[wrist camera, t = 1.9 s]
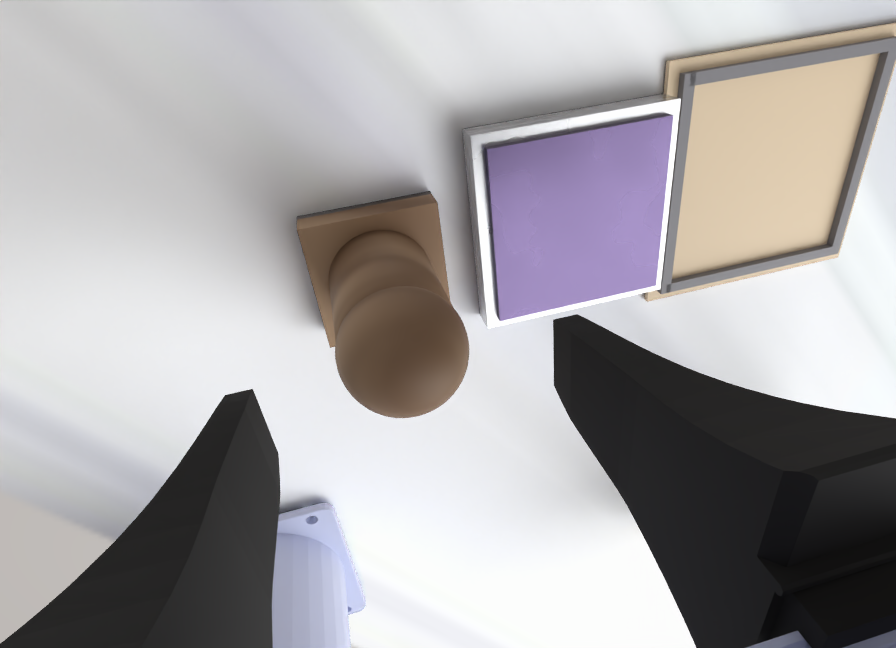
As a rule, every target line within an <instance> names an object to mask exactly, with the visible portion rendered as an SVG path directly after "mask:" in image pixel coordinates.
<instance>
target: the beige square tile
mask: <svg viewBox="0 0 896 648" xmlns="http://www.w3.org/2000/svg"><path fill="white" fill-rule="evenodd" d="M895 64H896V23H890V24H884V25H878V26H872V27H866V28H860V29H854V30H848V31H842V32H836V33H830V34H824V35H818V36H812V37H806V38H800V39H794V40H789V41H783V42H777V43H771V44H765V45H759V46H753V47H747V48H741V49H735V50H729V51H723V52H717V53H711V54H705V55H699V56H693V57H687V58H681V59H675V60H670V61H666V71H665V82H664V93H663V94H666V95H670V96H674V97H678V98H681V103H680V112H679V121H678V130H677V140H676V149H675V158H674V167H673V177H672V186H671V195H670V204H669V214H668V223H667V232H666V241H665V251H664V260H663V269H662V278H661V288H660V289H659V290H654V291H650V292H646V293H645V300H646V301H647V302H648V301H652V300H656V299H660V298H665V297H669V296H673V295H678V294H682V293H686V292H691V291H695V290H699V289H704V288H708V287H712V286H716V285H721V284H725V283H729V282H734V281H738V280H742V279H747V278H751V277H755V276H759V275H764V274H768V273H772V272H777V271H781V270H785V269H790V268H794V267H798V266H803V265H807V264H811V263H815V262H820V261H824V260H828V259H833V258H837V257H838V256H839V252H840V249H841V246H842V242H843V239H844V235H845V232H846V229H847V225H848V222H849V219H850V215H851V212H852V209H853V205H854V202H855V198H856V195H857V192H858V188H859V185H860V182H861V178H862V175H863V172H864V168H865V165H866V162H867V158H868V155H869V151H870V148H871V145H872V141H873V138H874V135H875V131H876V128H877V125H878V121H879V118H880V114H881V111H882V108H883V104H884V101H885V98H886V94H887V91H888V88H889V84H890V81H891V77H892V74H893V71H894V67H895Z"/></svg>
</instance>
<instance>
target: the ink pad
mask: <svg viewBox="0 0 896 648" xmlns="http://www.w3.org/2000/svg"><path fill="white" fill-rule="evenodd" d="M680 103H681V98H678V97H674V96H670V95H666V94H659V95H653V96H648V97H642V98H636V99H631V100H625V101H619V102H614V103H608V104H602V105H597V106H591V107H585V108H580V109H574V110H568V111H563V112H557V113H551V114H546V115H540V116H535V117H529V118H523V119H518V120H512V121H506V122H501V123H495V124H489V125H484V126H478V127H472V128H467V129H462V132H463V142H464V153H465V163H466V173H467V183H468V194H469V204H470V214H471V224H472V235H473V245H474V255H475V265H476V276H477V286H478V296H479V306H480V316H481V317H482V319H483V321H484V323H485V324H486V326H487V328H488V329H489V328H493V327H498V326H502V325H506V324H511V323H515V322H519V321H524V320H528V319H532V318H537V317H541V316H545V315H550V314H554V313H558V312H563V311H567V310H572V309H576V308H580V307H585V306H589V305H593V304H598V303H602V302H606V301H611V300H615V299H619V298H624V297H628V296H632V295H637V294H641V293H646V292H650V291H654V290H659V289H660V288H661V278H662V269H663V260H664V251H665V241H666V232H667V223H668V214H669V204H670V195H671V186H672V177H673V167H674V158H675V149H676V140H677V130H678V121H679V112H680Z"/></svg>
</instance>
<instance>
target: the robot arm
mask: <svg viewBox="0 0 896 648" xmlns="http://www.w3.org/2000/svg"><path fill="white" fill-rule="evenodd" d="M553 330H554V386H555V388H556V391H557V393H558V395H559V397H560V399H561V401H562V403H563V405H564V407H565V409H566V411H567V413H568V415H569V417H570V419H571V421H572V422H573V424H574V425H575V427H576V428H577V430H578V431H579V433H580V434H581V436H582V437H583V439H584V440H585V442H586V443H587V445H588V446H589V448H590V449H591V451H592V452H593V454H594V455H595V457H596V458H597V460H598V461H599V463H600V464H601V466H602V467H603V469H604V470H605V472H606V473H607V475H608V476H609V478H610V479H611V481H612V482H613V483H614V485H615V486H616V488H617V489H618V491H619V493H620V494H621V496H622V498H623V499H624V501H625V503H626V504H627V506H628V508H629V510H630V512H631V514H632V515H633V517H634V519H635V521H636V523H637V525H638V527H639V529H640V531H641V532H642V534H643V536H644V538H645V540H646V542H647V544H648V546H649V548H650V550H651V552H652V554H653V556H654V558H655V560H656V562H657V564H658V566H659V568H660V570H661V572H662V574H663V576H664V578H665V580H666V582H667V584H668V586H669V589H670V591H671V593H672V595H673V597H674V599H675V601H676V603H677V606H678V608H679V610H680V612H681V614H682V616H683V618H684V620H685V623H686V625H687V627H688V629H689V632H690V634H691V636H692V638H693V641H694V643H695V645H696V648H896V419H895V418H888V417H881V416H874V415H867V414H860V413H853V412H846V411H840V410H834V409H829V408H824V407H819V406H814V405H809V404H804V403H799V402H795V401H791V400H787V399H782V398H778V397H774V396H771V395H767V394H763V393H760V392H756V391H752V390H749V389H745V388H742V387H739V386H736V385H732V384H729V383H726V382H724V381H721V380H718V379H715V378H712V377H709V376H707V375H704V374H701V373H698V372H696V371H693V370H691V369H688V368H686V367H683V366H681V365H679V364H677V363H674V362H672V361H670V360H667V359H665V358H663V357H661V356H658V355H656V354H654V353H652V352H650V351H648V350H646V349H644V348H642V347H640V346H638V345H636V344H634V343H632V342H630V341H628V340H626V339H624V338H622V337H620V336H618V335H616V334H614V333H613V332H611V331H609V330H607V329H605V328H603V327H601V326H599V325H597V324H595V323H594V322H592V321H590V320H588V319H586V318H584V317H581V316H579V315H572V316H568V317H564V318H559V319H555V320H553ZM279 504H280V475H279V458H278V452H277V449H276V447H275V444H274V442H273V439H272V437H271V434H270V432H269V429H268V427H267V424H266V422H265V419H264V417H263V414H262V412H261V409H260V406H259V404H258V401H257V399H256V396H255V394H254V391H253V389H251V390H246V391H242V392H237V393H233V394H229V395H225V396H224V398H223V399H222V401H221V402H220V404H219V405H218V406H217V408H216V409H215V411H214V413H213V414H212V416H211V417H210V419H209V420H208V422H207V423H206V425H205V426H204V428H203V429H202V431H201V432H200V434H199V436H198V437H197V439H196V440H195V442H194V443H193V444H192V446H191V447H190V449H189V450H188V452H187V453H186V455H185V456H184V458H183V459H182V460H181V462H180V463H179V465H178V466H177V468H176V469H175V470H174V472H173V473H172V474H171V475H170V477H169V478H168V479H167V481H166V482H165V483H164V485H163V486H162V487H161V489H160V490H159V491H158V493H157V494H156V495H155V496H154V498H153V499H152V500H151V501H150V503H149V504H148V505H147V506H146V507H145V509H144V510H143V511H142V512H141V513H140V514H139V516H138V517H137V518H136V519H135V520H134V521H133V522H132V523H131V524H130V526H129V527H128V528H127V529H126V530H125V531H124V532H123V533H122V534H121V535H120V537H119V538H118V539H117V540H116V541H115V542H114V543H113V544H112V545H111V546H110V547H109V548H108V549H107V550H106V551H105V552H104V553H103V554H102V555H101V556H100V557H99V558H98V559H97V560H96V561H95V562H94V563H92V564H91V565H90V566H89V567H88V568H87V569H86V570H85V571H84V572H83V573H82V574H81V575H80V576H79V577H78V578H77V579H76V580H75V581H74V582H73V583H72V584H71V585H70V586H69V587H67V588H66V589H65V590H64V591H63V592H62V593H61V594H59V595H58V596H57V597H56V598H55V599H54V600H53V601H52V602H50V603H49V604H48V605H47V606H46V607H45V608H43V609H42V610H41V611H40V612H39V613H37V614H36V615H35V616H34V617H33V618H32V619H30V620H29V621H28V622H27V623H26V624H25V625H23V626H22V627H21V628H19V629H18V630H17V631H16V632H14V633H13V634H12V635H11V636H10V637H8V638H7V639H6V640H5V641H3V642H2V643H1V644H0V648H351V642H350V630H349V618H348V615H349V614H353V613H356V612H359V611H361V610H363V609H364V608H365V606H366V600H365V596H364V593H363V590H362V587H361V584H360V581H359V578H358V575H357V572H356V569H355V567H354V564H353V561H352V558H351V555H350V552H349V549H348V546H347V543H346V540H345V537H344V535H343V532H342V529H341V526H340V523H339V520H338V517H337V514H336V511H335V508H334V507H333V505H331V504H329V503H319V504H316V505H312V506H308V507H304V508H300V509H297V510H293V511H289V512H285V513H281V514H279ZM310 516H314V517H310Z"/></svg>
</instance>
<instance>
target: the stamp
mask: <svg viewBox="0 0 896 648" xmlns="http://www.w3.org/2000/svg"><path fill="white" fill-rule="evenodd" d="M297 232H298V235H299V239H300V242H301V246H302V249H303V253H304V256H305V260H306V264H307V267H308V271H309V274H310V278H311V281H312V285H313V288H314V292H315V295H316V299H317V302H318V306H319V310H320V313H321V317H322V320H323V324H324V327H325V331H326V334H327V338H328V341H329V345H330V348H331V347H335V359H336V364H337V369H338V372H339V375H340V378H341V380H342V382H343V384H344V385H345V387H346V389H347V390H348V391H349V392H350V394H351V395H352V396H353V397H354V398H355V399H356V400H357V401H358V402H359V403H360V404H362V405H363V406H365V407H366V408H367V409H369V410H371V411H373V412H375V413H378V414H381V415H384V416H388V417H394V418H409V417H415V416H420V415H423V414H426V413H428V412H431V411H433V410H434V409H436V408H438V407H439V406H441V405H442V404H444V403H445V402H446V401H447V400H448V399H449V398H450V397H451V396H452V395H453V394H454V392H455V391H456V390H457V388H458V387H459V385H460V384H461V382H462V380H463V378H464V375H465V372H466V369H467V366H468V359H469V342H468V337H467V332H466V330H465V327H464V324H463V322H462V320H461V318H460V316H459V315H458V313H457V312H456V311H455V309H454V308H453V306H452V304H451V302H450V296H449V288H448V281H447V273H446V265H445V258H444V250H443V242H442V235H441V227H440V219H439V212H438V204H437V201H436V200H435V198H434V197H433V195H432V194H431V192H430V191H428V192H423V193H418V194H412V195H407V196H402V197H397V198H391V199H386V200H381V201H376V202H371V203H365V204H360V205H355V206H350V207H344V208H339V209H334V210H329V211H323V212H318V213H313V214H308V215H303V216H297Z"/></svg>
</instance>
